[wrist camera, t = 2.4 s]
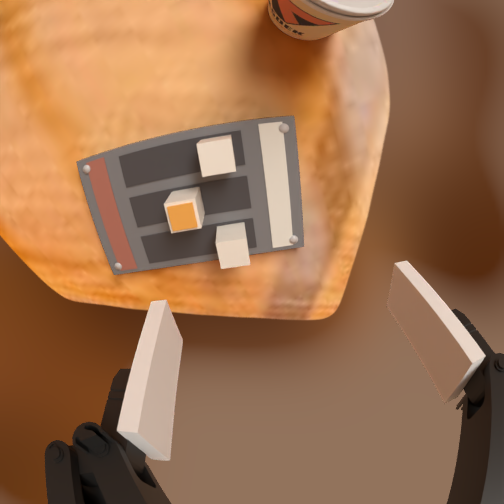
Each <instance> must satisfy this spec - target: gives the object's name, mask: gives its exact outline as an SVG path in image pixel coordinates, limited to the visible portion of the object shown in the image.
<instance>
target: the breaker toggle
mask: <svg viewBox="0 0 504 504" xmlns="http://www.w3.org/2000/svg"><path fill="white" fill-rule="evenodd" d="M164 207H165V211H166V215H167V219H168V223H169V226H170V230H171V233H176V232H182V231H188V230H194V229H200V228H202V224H203V219H204V215H205V211H204V206H203V201H202V197H201V192H200V186H199V187H194V188H189V189H183V190H178V191H173V192H171V194H170V195H169V197H168V198H167V200H166V201H165V203H164Z"/></svg>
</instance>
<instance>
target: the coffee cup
mask: <svg viewBox="0 0 504 504" xmlns="http://www.w3.org/2000/svg"><path fill="white" fill-rule="evenodd" d="M393 2H394V0H269V1H268V12H269V16H270V18H271V20H272V21H273V23H274V24H275V25H276V26H277V27H278V28H279V29H280V30H281V31H282V32H284V33H285V34H287V35H289V36H291V37H294V38H297V39H301V40H318V39H321V38H324V37H327V36H329V35H331V34H334V33H336V32H338V31H341V30H343V29H345V28H348V27H350V26H353V25H355V24H358V23H360V22H363V21H367V20H371V19H374V18H377V17H380V16H382V15H383V14H385V13H386V12H387V11H388V10H389V9H390V8H391V6H392V4H393Z"/></svg>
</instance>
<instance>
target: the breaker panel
mask: <svg viewBox="0 0 504 504" xmlns="http://www.w3.org/2000/svg"><path fill="white" fill-rule="evenodd" d="M77 166H78V170H79V174H80V178H81V181H82V185H83V188H84V192H85V195H86V199H87V202H88V205H89V208H90V211H91V215H92V218H93V221H94V224H95V226H96V229H97V232H98V235H99V238H100V241H101V243H102V246H103V249H104V251H105V254H106V256H107V259H108V261H109V264H110V266H111V269H112V271H113V274H114V275H117V274H124V273H131V272H138V271H144V270H151V269H158V268H165V267H172V266H178V265H185V264H192V263H199V262H205V261H212V260H219V261H220V266H221V269H225V268H232V267H238V266H245V265H250V258H249V255H252V254H259V253H266V252H272V251H279V250H286V249H292V248H299V247H304V235H303V216H302V200H301V185H300V172H299V160H298V149H297V138H296V128H295V119H294V116H280V117H269V118H260V119H252V120H244V121H237V122H230V123H223V124H217V125H211V126H206V127H200V128H195V129H190V130H185V131H180V132H176V133H171V134H167V135H163V136H159V137H155V138H151V139H147V140H143V141H139V142H135V143H132V144H128V145H125V146H122V147H118V148H115V149H112V150H108V151H105V152H102V153H99V154H96V155H93V156H90V157H87V158H85V159H82V160H80V161H77ZM199 186H200V192H201V197H202V201H203V206H204V211H205V215H204V219H203V224H202V228H200V229H194V230H188V231H182V232H176V233H171V230H170V226H169V223H168V219H167V215H166V211H165V207H164V203H165V201H166V200H167V198H168V197H169V195H170V194H171V192H173V191H178V190H183V189H189V188H194V187H199Z"/></svg>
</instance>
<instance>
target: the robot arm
mask: <svg viewBox="0 0 504 504" xmlns="http://www.w3.org/2000/svg"><path fill="white" fill-rule="evenodd" d="M387 308H388V309H389V311H390V312H391V313H392V315H393V317H394V318H395V320H396V321H397V323H398V325H399V326H400V328H401V329H402V331H403V332H404V334H405V336H406V337H407V339H408V340H409V342H410V344H411V345H412V347H413V349H414V350H415V352H416V354H417V355H418V357H419V359H420V361H421V362H422V364H423V366H424V367H425V369H426V371H427V373H428V374H429V376H430V378H431V380H432V382H433V383H434V385H435V387H436V389H437V391H438V392H439V394H440V396H441V398H442V400H443V402H444V403H447V402H449V401H451V400H452V399H454V398H456V397H458V395H459V394H460V393H461V391H462V390H463V389H464V391H465V393H466V394H465V396H464V397H463V398H462V399H461V401H460V402H459V403H458V405H457V407H456V409H459V407H461V405H462V404H463V407H462V408H461V410H463V413H462V414H463V415H462V426H461V435H460V443H459V450H458V457H457V462H456V467H455V473H454V477H453V482H452V486H451V490H450V494H449V498H448V502H447V504H504V354H501V353H498V354H495V353H494V352H493V350H492V349H491V348H490V346H489V345H488V344H487V342H486V341H485V340H484V339H483V337H482V336H481V334H480V333H479V332H478V331H477V330H476V328H475V327H474V326H473V324H471V322H470V321H469V319H468V318H467V317H466V316H465V315H464V314H463V313H461V312H460V311H458V310H457V309H454V310H450V309H449V308H448V306H447V305H446V304H445V303H444V301H443V300H442V299H441V298H440V297H439V296H438V294H437V293H436V292H435V291H434V290H433V289H432V288H431V286H430V285H429V284H428V283H427V282H426V281H425V280H424V279H423V277H422V276H421V275H420V274H419V273H418V272H417V271H416V270H415V269H414V268H413V267H412V266H411V265H410V264H409V262H408V261H403V262H398V263H395V264H394V270H393V276H392V281H391V287H390V292H389V297H388V302H387ZM182 345H183V339H182V337H181V335H180V332H179V330H178V327H177V325H176V323H175V320H174V318H173V315H172V313H171V310H170V308H169V305H168V302H167V300H160V301H151V304H150V307H149V310H148V313H147V317H146V320H145V323H144V326H143V330H142V333H141V337H140V340H139V343H138V346H137V350H136V353H135V357H134V361H133V364H132V368H131V369H120V370H119V372H118V373H117V374H116V376H115V377H114V378H113V382H112V385H111V391H110V392H109V396H108V400H107V403H106V407H105V411H104V415H103V418H102V423H101V427H100V426H99V425H98V424H96V423H93V422H86V423H83V424H81V425H80V426H78V427H77V429H76V430H75V432H74V434H73V438H72V439H73V445H72V446H68V445H67V444H66V443H64V442H63V441H59V440H56V441H53V442H51V443H50V444H49V445H48V446H47V448H46V451H45V473H46V487H47V497H48V504H171V503H170V501H169V499H168V498H167V496H166V495H165V493H164V492H163V490H162V488H161V487H160V485H159V484H158V482H157V480H156V479H155V477H154V475H153V473H152V472H151V470H150V468H149V466H148V465H147V464H146V462H145V457H146V455H147V456H148V457H149V458H151V459H155V460H168V461H169V460H170V455H171V442H172V430H173V420H174V419H173V418H174V410H175V399H176V391H177V382H178V373H179V367H180V359H181V352H182Z"/></svg>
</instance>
